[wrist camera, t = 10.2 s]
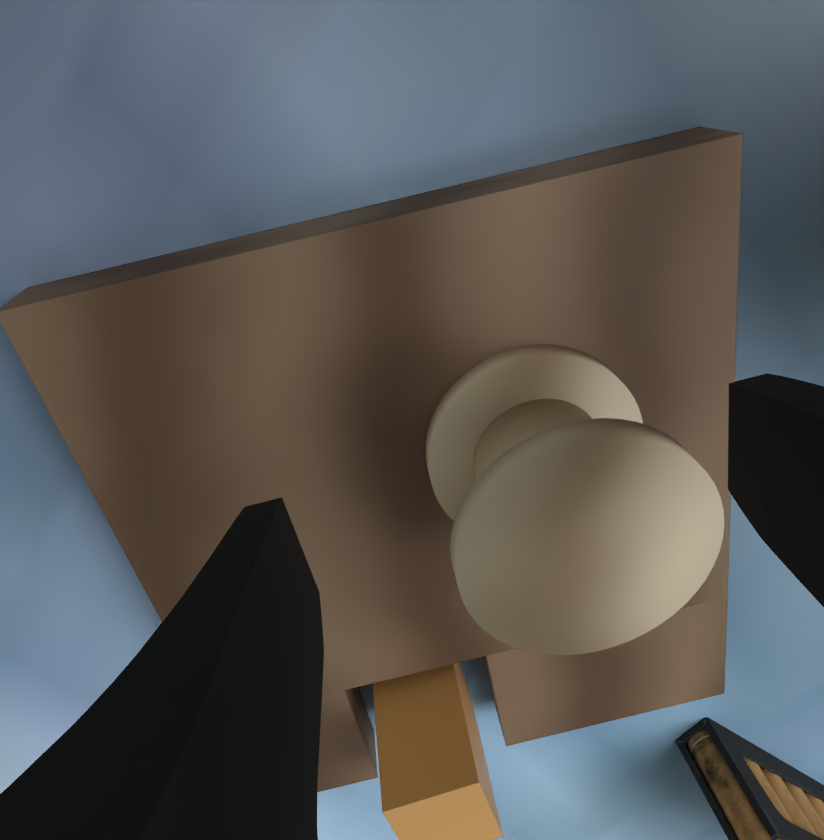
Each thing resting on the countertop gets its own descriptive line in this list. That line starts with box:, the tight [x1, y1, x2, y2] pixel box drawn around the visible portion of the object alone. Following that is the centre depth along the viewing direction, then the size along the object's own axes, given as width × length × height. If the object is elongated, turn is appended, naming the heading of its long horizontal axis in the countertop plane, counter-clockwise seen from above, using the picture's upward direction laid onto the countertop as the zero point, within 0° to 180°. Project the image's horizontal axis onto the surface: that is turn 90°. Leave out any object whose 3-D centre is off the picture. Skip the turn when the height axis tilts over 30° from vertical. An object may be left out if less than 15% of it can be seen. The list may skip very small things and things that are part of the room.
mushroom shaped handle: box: [426, 344, 724, 655], centre depth 17 cm, size 6×6×5 cm
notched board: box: [0, 127, 743, 792], centre depth 21 cm, size 18×20×2 cm
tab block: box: [373, 663, 503, 840], centre depth 23 cm, size 3×3×6 cm
